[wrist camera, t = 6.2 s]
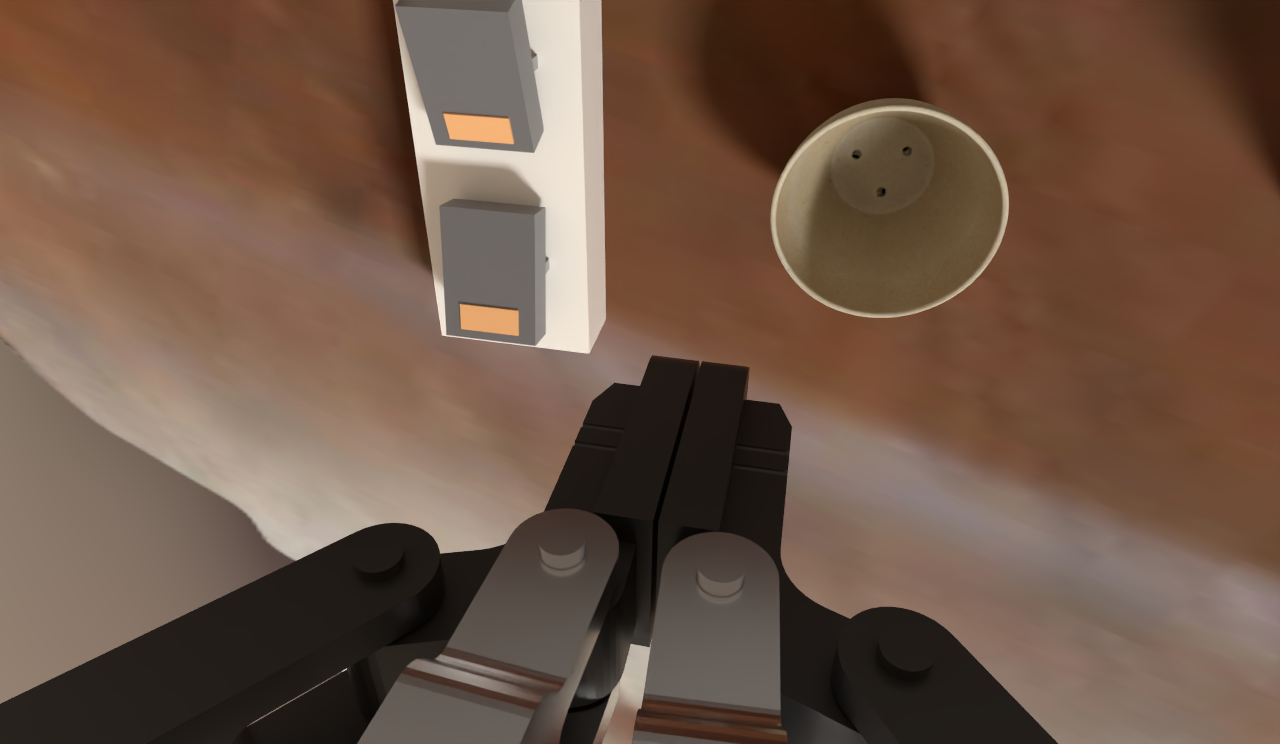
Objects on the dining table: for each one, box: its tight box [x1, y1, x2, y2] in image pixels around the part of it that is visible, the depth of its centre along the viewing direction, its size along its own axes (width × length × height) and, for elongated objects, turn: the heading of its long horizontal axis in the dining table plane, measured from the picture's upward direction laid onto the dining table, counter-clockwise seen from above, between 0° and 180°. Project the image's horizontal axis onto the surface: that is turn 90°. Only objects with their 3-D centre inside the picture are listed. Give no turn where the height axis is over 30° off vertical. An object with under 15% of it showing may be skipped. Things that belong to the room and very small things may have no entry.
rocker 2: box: [439, 199, 546, 346], centre depth 43 cm, size 5×7×2 cm
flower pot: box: [771, 98, 1009, 318], centre depth 39 cm, size 10×10×7 cm
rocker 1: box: [395, 0, 544, 153], centre depth 37 cm, size 5×7×2 cm
